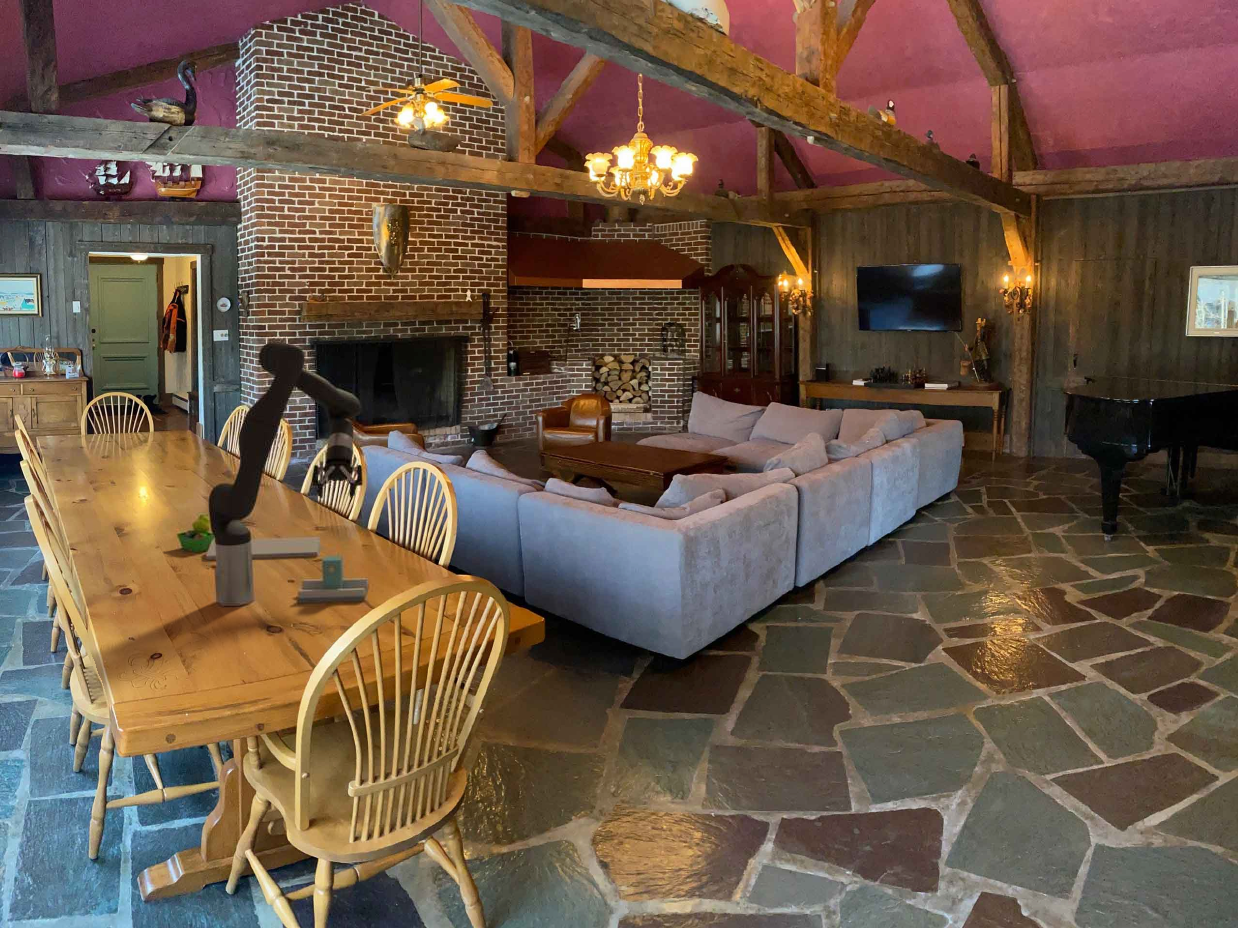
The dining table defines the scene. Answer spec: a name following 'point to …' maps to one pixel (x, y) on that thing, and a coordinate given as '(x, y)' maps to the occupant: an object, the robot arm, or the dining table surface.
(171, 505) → the dining table surface
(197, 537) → the fruit basket
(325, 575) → the teal cabinet block
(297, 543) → the light grey long block
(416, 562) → the dining table surface
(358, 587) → the cleat board
